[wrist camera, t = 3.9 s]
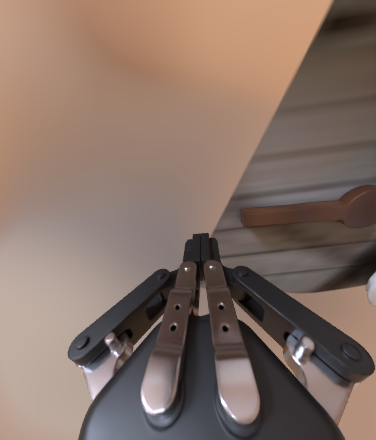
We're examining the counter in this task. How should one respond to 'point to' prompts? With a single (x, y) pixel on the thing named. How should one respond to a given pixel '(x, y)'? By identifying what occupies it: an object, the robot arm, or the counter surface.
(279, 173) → the counter surface
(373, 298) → the figurine
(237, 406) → the robot arm
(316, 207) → the spoon
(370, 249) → the counter surface
